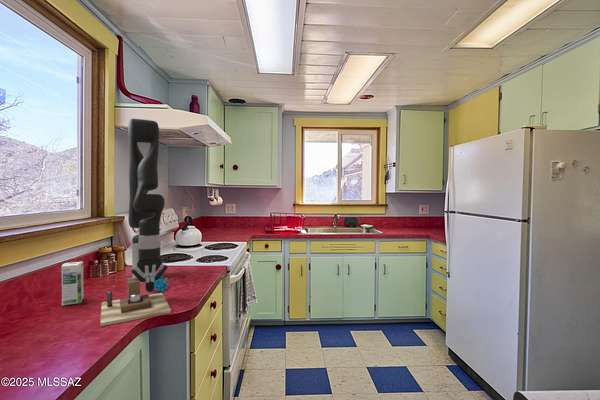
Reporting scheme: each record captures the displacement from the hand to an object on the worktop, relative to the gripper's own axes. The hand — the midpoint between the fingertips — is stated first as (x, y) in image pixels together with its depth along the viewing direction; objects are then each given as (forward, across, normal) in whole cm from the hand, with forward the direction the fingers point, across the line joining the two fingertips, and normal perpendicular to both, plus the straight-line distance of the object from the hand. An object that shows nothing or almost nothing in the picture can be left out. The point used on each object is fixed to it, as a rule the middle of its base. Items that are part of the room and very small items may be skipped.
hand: (149, 291), depth 114 cm
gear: (+3, -4, -9) cm, 11 cm away
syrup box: (+3, +24, -12) cm, 27 cm away
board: (+3, +6, +8) cm, 10 cm away
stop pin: (+3, +13, +3) cm, 14 cm away
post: (+3, +6, +8) cm, 10 cm away
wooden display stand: (+2, +5, +5) cm, 7 cm away
